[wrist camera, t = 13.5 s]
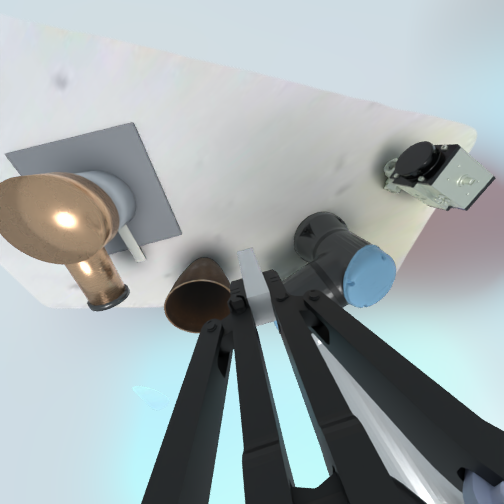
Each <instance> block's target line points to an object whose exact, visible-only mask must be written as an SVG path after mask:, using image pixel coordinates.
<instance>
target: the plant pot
mask: <svg viewBox="0 0 504 504" xmlns="http://www.w3.org/2000/svg"><path fill="white" fill-rule="evenodd" d="M230 297H231V294H230V283H229V281H228V279H227V277H226V275H225V274H224V272H223V270H222V269H221V268H220V266H219V265H218V264H217V263H216V262H215V261H214V260H212V259H210V258H200V259H197V260H196V261H194V262H193V263H192V264H191V265H190V266H188V267H187V269H186V270H185V271H184V272H183V273H182V274H181V275H180V277H179V278H178V280H177V281H176V282H175V284H174V286H173V287H172V289H171V291H170V293H169V294H168V296H167V298H166V300H165V304H164V310H165V314H166V317H167V318H168V320H169V321H170V322H171V323H172V324H173V325H174V326H175V327H177V328H179V329H181V330H184V331H187V332H191V333H200V332H201V329H202V327H203V325H204V324H205V323H206V322H207V321H209V320H211V319H219V320H220V321H221V320H222V319H224V318H226V317H227V316H228V315H229V314H230V310H229V307H228V304H227V302H228V300H229V298H230Z"/></svg>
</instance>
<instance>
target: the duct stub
mask: <svg viewBox="0 0 504 504" xmlns="http://www.w3.org/2000/svg"><path fill="white" fill-rule="evenodd" d="M5 155H6V157H7V158H8V159H9V161H10V162H11V163H12V165H13V166H14V167H15V169H16V170H17V171H18V173H19V174H20V175H21V176H26V175H34V174H43V173H51V172H67V173H72V174H76V175H79V176H82V177H84V178H86V179H88V180H90V181H92V182H93V183H95V184H97V185H98V186H99V187H100V188H102V189H103V190H104V191H105V192H106V193H107V194H108V195H109V197H110V198H111V199H112V201H113V202H114V204H115V206H116V208H117V211H118V214H119V221H120V223H119V229H118V232H117V234H116V235H115V237H114V238H113V239H112V240H111V241H110V242H109V243H107V244H106V245H105V246H104V247H105V249H106V251H107V253H108V255H109V254H113V253H117V252H120V251H124V250H128V249H129V250H130V252H131V254H132V255H133V257H134V259H135V260H136V262H137V263H138V262H142V261H145V260H146V258H145V256H144V255H143V253H142V251H141V249H140V248H139V246H142V245H146V244H150V243H153V242H157V241H160V240H164V239H168V238H171V237H175V236H179V235H181V234H182V232H181V230H180V228H179V226H178V223H177V221H176V219H175V216H174V214H173V212H172V209H171V207H170V205H169V203H168V200H167V198H166V196H165V193H164V191H163V189H162V187H161V184H160V182H159V180H158V177H157V175H156V173H155V171H154V168H153V166H152V164H151V161H150V159H149V157H148V155H147V152H146V150H145V148H144V145H143V143H142V141H141V139H140V136H139V134H138V132H137V129H136V127H135V125H134V123H128V124H124V125H120V126H116V127H112V128H108V129H104V130H100V131H96V132H92V133H88V134H84V135H80V136H76V137H71V138H67V139H63V140H59V141H55V142H51V143H47V144H43V145H39V146H35V147H31V148H27V149H23V150H19V151H15V152H11V153H7V154H5Z"/></svg>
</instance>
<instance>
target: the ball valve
mask: <svg viewBox="0 0 504 504" xmlns="http://www.w3.org/2000/svg"><path fill="white" fill-rule="evenodd" d="M384 171H385V174H386V176H387V177H388V179H387V181H386V185H385V187H384V189H385V190H387V191H389V192H391V193H395V194H398V193H400V191H401V190H404V191H406V192H407V193H409V194H410V195H412V196H414V197H415V198H417V199H418V200H420V201H421V202H423V203H425V204H426V205H428V206H430V207H434V208H438V209H442V210H446V211H448V210H449V209H450V208H458V209H462V210H466V211H467V210H468V209H469V208H470V207H471V205H472V204H473V203H474V202H475V201H476V200H477V199H478V198H479V196H480V195H481V194H482V193H483V192H484V191H485V190H486V189H487V187H488V186H489V185H490V184H491V183H492V182H493V181H494V179H495V177H494V176H493V175H492V174H491V173H490V172H489V171H488V170H486V169H485V168H484V167H483V166H482V165H481V164H480V163H478V162H477V161H476V160H475V159H474V158H473V157H471V156H470V155H469V154H468V153H467V152H466V151H465V150H464V149H463V148H461V147H460V146H459V145H458V144H455V145H433V144H432V143H430V142H427V141H424V142H419V143H416V144H414V145H412V146H410V147H409V148H408V149H407V150H406V151H404V152H403V153H402V154H401V156H400V157H399V158H395V159H392V160H390V161H389V162H388V163H387V164H386V165H385V167H384Z"/></svg>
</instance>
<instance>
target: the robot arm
mask: <svg viewBox="0 0 504 504" xmlns="http://www.w3.org/2000/svg"><path fill="white" fill-rule="evenodd" d="M294 247H295V250H296V252H297V253H298V254H299V256H300V257H301V258H302V259H303V260H305V261H307V262H309V264H307V265H306V266H304V267H303V268H301V269H300V270H298V271H297V272H295V273H294V274H292V275H291V276H289V277H288V278H286V279H285V280H283V281H281V279H280V277H279V275H278V273H277V272H276V271H274V270H273V269H272V270H269V271H265V272H262V271H261V269H260V266H259V263H258V261H257V258H256V256H255V253H254V250H253V248H249V249H246V250H242V251H238V252H237V254H238V259H239V263H240V268H241V273H242V277H243V279H239V280H236V281H232V282H231V284H230V294H231V297H230V298H229V300H228V302H227V304H228V307H229V310H230V314H229V315H228V316H227V317H226V318H224V319H222V320H221V321H220V320H219V319H211V320H209V321H207V322H206V323H205V324H204V325H203V327H202V329H201V332H200V335H199V337H198V340H197V343H196V346H195V349H194V352H193V355H192V358H191V361H190V364H189V366H188V369H187V372H186V375H185V378H184V381H183V384H182V387H181V390H180V393H179V396H178V399H177V401H176V404H175V407H174V410H173V413H172V416H171V419H170V422H169V424H168V427H167V430H166V433H165V436H164V439H163V442H162V445H161V448H160V451H159V454H158V456H157V459H156V462H155V465H154V468H153V471H152V474H151V477H150V480H149V482H148V485H147V488H146V491H145V494H144V497H143V500H142V503H141V504H208V502H209V495H210V489H211V483H212V477H213V471H214V465H215V459H216V452H217V446H218V440H219V434H220V427H221V421H222V415H223V409H224V403H225V396H226V390H227V384H228V377H229V371H230V365H231V359H232V352H233V349H234V351H235V361H236V372H237V381H238V392H239V402H240V412H241V422H242V433H243V443H244V451H243V455H242V466H243V467H242V468H243V480H244V492H245V504H504V431H502V430H501V429H499V428H497V427H495V426H493V425H491V424H490V423H488V422H486V421H484V420H483V419H481V418H480V417H479V416H478V415H476V414H475V413H474V412H472V411H471V410H470V409H469V408H467V407H466V406H465V405H464V404H463V403H461V402H460V401H458V400H457V399H456V398H455V397H454V396H452V395H451V394H450V393H449V392H447V391H446V390H445V389H443V388H442V387H441V386H440V385H439V384H437V383H436V382H435V381H434V380H432V379H431V378H430V377H428V376H427V375H426V374H425V373H423V372H422V371H421V370H420V369H418V368H417V367H416V366H415V365H413V364H412V363H411V362H410V361H408V360H407V359H406V358H404V357H403V356H402V355H401V354H400V353H398V352H397V351H396V350H394V349H393V348H392V347H391V346H389V345H388V344H387V343H385V342H384V341H383V340H382V339H381V338H379V337H378V336H377V335H376V334H374V333H373V332H372V331H371V330H369V329H368V328H367V327H365V326H364V325H363V324H362V323H360V322H359V321H358V320H357V319H355V318H354V317H353V316H351V315H350V314H349V313H348V312H346V311H345V310H344V309H343V307H344V306H346V305H348V304H351V305H353V306H355V307H359V308H362V307H363V306H364V307H368V306H371V305H373V304H375V303H377V302H378V301H379V300H381V299H382V298H383V297H384V296H385V295H386V294H387V293H388V291H389V290H390V288H391V287H392V284H393V282H394V280H395V276H396V266H395V263H394V261H393V259H392V258H391V257H390V256H389V255H388V254H386V253H385V252H384V251H382V250H381V249H380V248H379V247H377V246H376V245H373V244H371V243H369V242H368V241H366V240H364V239H362V238H361V237H359V236H357V235H355V234H354V233H352V232H350V231H349V229H348V228H347V226H346V224H345V223H344V221H343V220H342V219H341V218H340V217H338V216H336V215H334V214H332V213H329V212H319V213H316V214H313V215H311V216H309V217H308V218H306V219H305V220H304V221H303V222H302V223H301V224H300V226H299V227H298V229H297V231H296V233H295V236H294ZM269 322H274V324H275V326H276V327H277V329H278V330H279V333H280V334H281V337H282V340H283V342H284V345H285V348H286V351H287V354H288V356H289V359H290V362H291V365H292V368H293V371H294V374H295V376H296V379H297V382H298V385H299V388H300V390H301V393H302V396H303V399H304V402H305V405H306V407H307V410H308V413H309V416H310V418H311V422H312V424H313V427H314V430H315V433H316V436H317V439H318V441H319V444H320V447H321V450H322V453H323V457H324V460H325V463H326V466H327V470H328V472H329V475H330V477H329V478H328V479H327V480H325V481H324V482H323V483H322V484H321V485H320V486H319V487H317V488H315V489H314V488H313V489H312V488H300V487H295V484H294V480H293V476H292V473H291V469H290V465H289V461H288V457H287V453H286V449H285V445H284V440H283V436H282V432H281V428H280V424H279V420H278V415H277V411H276V407H275V403H274V398H273V394H272V390H271V386H270V382H269V377H268V373H267V369H266V365H265V361H264V356H263V352H262V348H261V344H260V339H259V335H258V331H257V329H256V326H259V325H263V324H266V323H269Z"/></svg>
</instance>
